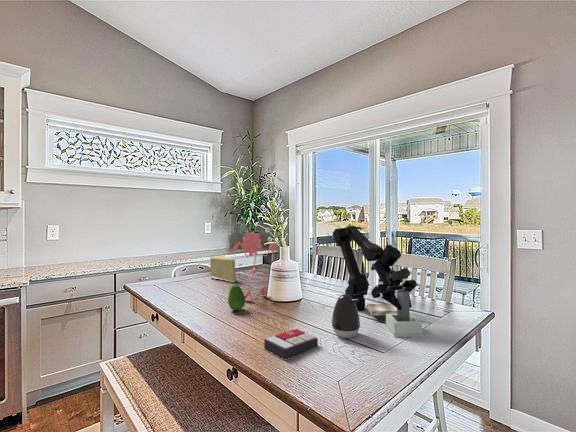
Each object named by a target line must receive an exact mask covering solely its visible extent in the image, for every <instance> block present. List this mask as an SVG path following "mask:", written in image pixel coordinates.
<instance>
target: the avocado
mask: <svg viewBox="0 0 576 432" xmlns="http://www.w3.org/2000/svg"><path fill="white" fill-rule="evenodd" d="M227 302H228V306H229V308H230V309H231V310H232V311H234V310H239V311H241V310H242V309H243V308H244V307H245V304H246V299H245V294H244V292H243V289H242V288H241V286H239V285H238V284H234V285H231V287H230V290H229V292H228V296H227ZM240 309H241V310H240Z"/></svg>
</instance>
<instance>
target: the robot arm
mask: <svg viewBox="0 0 576 432" xmlns="http://www.w3.org/2000/svg"><path fill="white" fill-rule="evenodd" d="M332 237H333V239H334V242H335V243H336V245H338V246H339V247H340V250H341V252H342V253H341V254H342V256H343V259H344V262H345V265H346V269H347V272H348V275H349V276H348V280H347V283H348V286H347V287H346V288H345V290H344V292H345V293H344V294H347V295H350V296H351V297H352V299H357V298H359V300H360V301H358V302H356V303H355V305H356V307H357V310H358V311H365V310H366V309H365V308H366V299H365V296H367V295H368V291H369V288H370V287H369V286H370V285H369V281H368V278H367V275H366V274H365V273H364V274H362V273H361V272H360V269H359V265H358V262H357V260H356V257H355V254H354V250H353V247H352V244H351V243H352V241H353V242H355V244H356V245H357V246H358V247H359V248H360V249H361V250H362V255H363V257H364V259H365V260H366V261H367V262H374V261H375V262H374V263H371V267H370V270H371V271H375V272H376V274H377V276H378V278H379V279H378V282H379V283H380V284H376V285H375V286H374V287H373V288H372V289H371V292H370V293H371V296H372V298H373V299H378V298H380V297H381V300H385V301H386V302H388V304H392V305H393V306H395V307H396V308H398V309H399V310H401V309H402V308H401V305H400V303H399V302H398V300H397V295H396V292H397V291H399V290H404V291H408V292H409V309H412V302H411V301H412V300H411V296H410V293H411V292H412V291H413V290H414V289H415V288H416V287H417V286H418V283H417V281H416V280H415V279H409V276H411V271H410V270H409V269H408V268H407V267H404V268H401V269H400V270H397V271H396V270H392V268H391V267H393V266H394V265H395V264H396V263H397V262H398V261H399V259H400V258H401V257H402V253H401V251H400V250H399V249H398V248H397V247H394V246H393V245H392V244H386V245H385V248H384V249H383V248H382V247H381V246H380V245H379V244H377V243H374V242H372V241H371V240H369V239H368V238H367V237H366V236H365V234H364V233H362V232H361V231H360V230H359V229H358V226H356V225H348V226H346V227H342V228H334V231H332ZM405 279H408V280H405ZM403 280H405V281H403ZM381 295H382V296H381Z"/></svg>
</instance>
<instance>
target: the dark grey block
mask: <svg viewBox="0 0 576 432" xmlns="http://www.w3.org/2000/svg"><path fill="white" fill-rule="evenodd" d="M409 294H410V292H408V291H404V290H399V291H398V290H397V291H396V298H397V300H398V302H399V303H400V305H401V308H402V309H401V310H399V309H398V308H397V321H410V313H411V311H410V308H409Z"/></svg>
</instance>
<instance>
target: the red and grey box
mask: <svg viewBox="0 0 576 432" xmlns="http://www.w3.org/2000/svg"><path fill="white" fill-rule="evenodd" d="M318 346H319V339H318V338H317V337H316V336H315V335H313V334H310V333H307V332H305V331H302V330H301V329H298V328H296V329H291V330H289V331H285V332H281V333H279V334H278V333H277V334H276V335H274V336H270V337H267V338H265V339H264V344H263V348H265V349H266V350H268V351H270V352H272V353H273V354H275V355H277V356H279V357H280V358H279V357H278V358H279V359H281V358H283V359H284V360H283V359H282V360H283V361H286V360H285V359H288V358H290V359H292V358H294V357H293V356H295V357H296V356H297V355H301V354H303V353H306V352H308V351H309V350H312V348H313V349H315V348H317V347H318ZM266 350H265V351H266ZM268 351H267V352H268ZM305 351H306V352H305ZM270 352H269V353H270ZM300 353H301V354H300ZM273 354H272V355H273ZM275 355H274V356H275ZM277 356H276V357H277ZM291 357H292V358H291ZM288 360H289V359H288Z"/></svg>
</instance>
